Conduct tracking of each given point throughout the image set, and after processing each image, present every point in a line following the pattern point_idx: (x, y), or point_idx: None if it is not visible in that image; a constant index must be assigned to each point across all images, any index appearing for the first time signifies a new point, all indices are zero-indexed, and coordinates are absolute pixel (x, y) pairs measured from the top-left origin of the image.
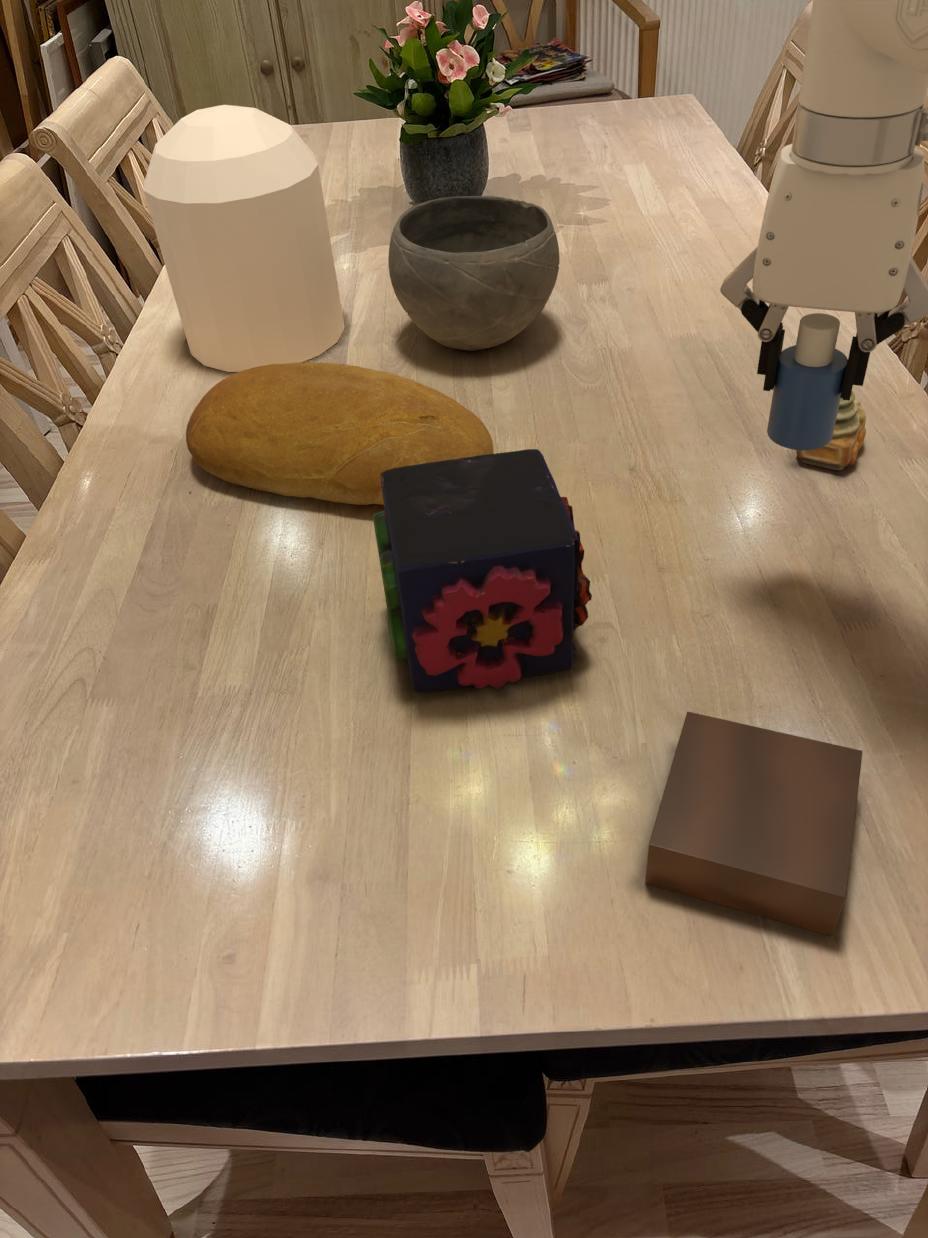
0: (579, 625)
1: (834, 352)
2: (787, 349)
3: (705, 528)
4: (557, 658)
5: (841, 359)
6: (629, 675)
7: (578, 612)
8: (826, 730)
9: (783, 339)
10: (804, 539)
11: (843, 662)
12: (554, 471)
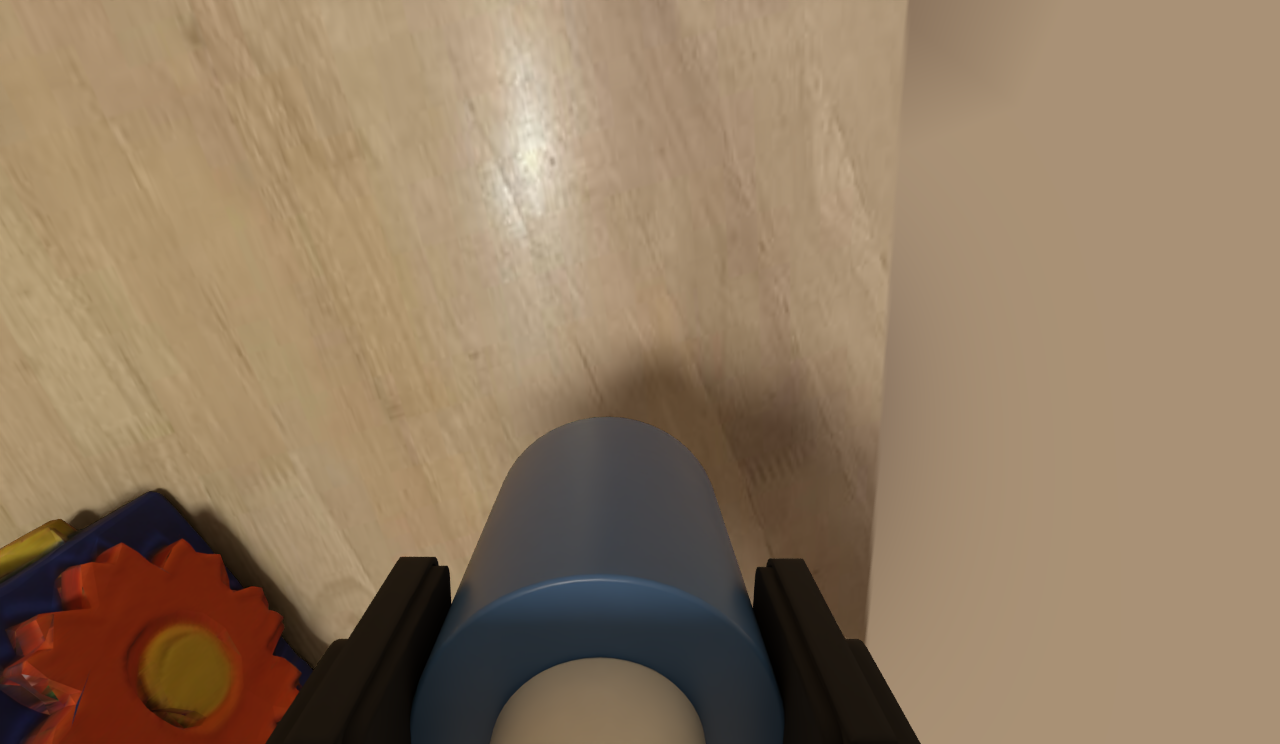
0: (298, 683)
1: (708, 652)
2: (440, 680)
3: (445, 247)
4: None
5: (750, 721)
6: None
7: None
8: None
9: (387, 697)
10: (660, 230)
11: (755, 559)
12: (3, 99)
